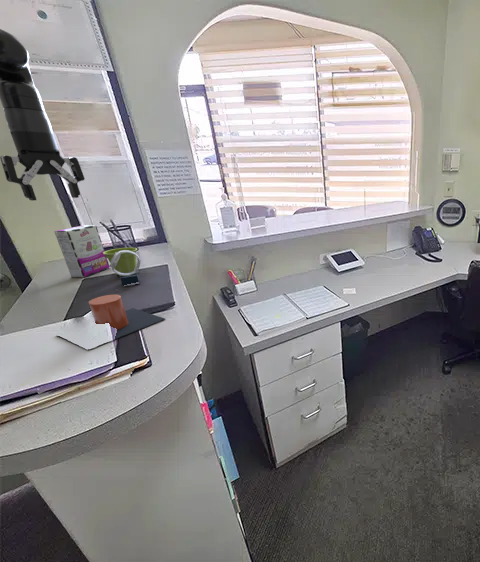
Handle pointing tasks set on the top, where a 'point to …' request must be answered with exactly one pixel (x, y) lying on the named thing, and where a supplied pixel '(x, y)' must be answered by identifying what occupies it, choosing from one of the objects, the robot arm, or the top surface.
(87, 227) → the candy bar box
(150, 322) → the desk mat
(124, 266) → the plant pot
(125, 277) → the watch
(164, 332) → the top surface
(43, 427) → the top surface
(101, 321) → the orange cylinder
